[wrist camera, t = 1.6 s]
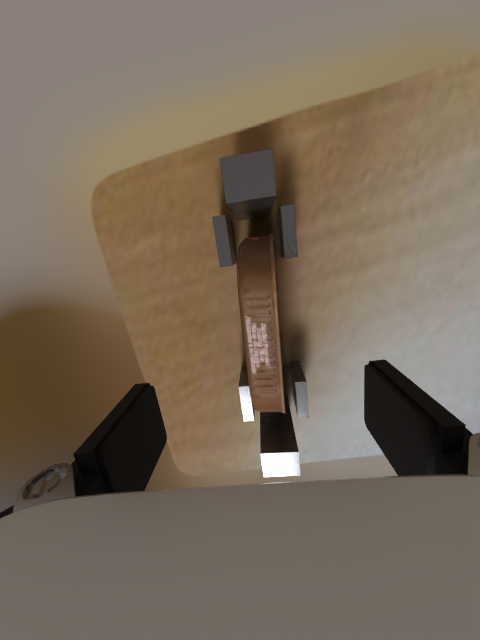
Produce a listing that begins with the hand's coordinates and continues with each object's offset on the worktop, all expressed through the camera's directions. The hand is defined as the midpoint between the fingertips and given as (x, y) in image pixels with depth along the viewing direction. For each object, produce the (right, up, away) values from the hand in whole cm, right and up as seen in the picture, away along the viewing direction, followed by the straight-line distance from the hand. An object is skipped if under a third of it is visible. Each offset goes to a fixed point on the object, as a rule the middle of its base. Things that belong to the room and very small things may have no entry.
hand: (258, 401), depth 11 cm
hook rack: (+2, +4, +14) cm, 15 cm away
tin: (+2, +4, +14) cm, 15 cm away
